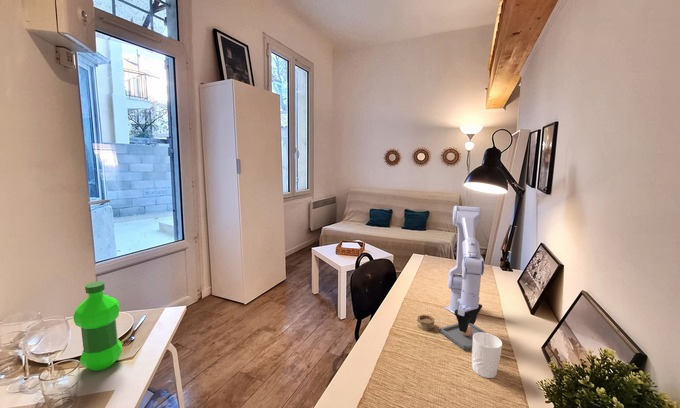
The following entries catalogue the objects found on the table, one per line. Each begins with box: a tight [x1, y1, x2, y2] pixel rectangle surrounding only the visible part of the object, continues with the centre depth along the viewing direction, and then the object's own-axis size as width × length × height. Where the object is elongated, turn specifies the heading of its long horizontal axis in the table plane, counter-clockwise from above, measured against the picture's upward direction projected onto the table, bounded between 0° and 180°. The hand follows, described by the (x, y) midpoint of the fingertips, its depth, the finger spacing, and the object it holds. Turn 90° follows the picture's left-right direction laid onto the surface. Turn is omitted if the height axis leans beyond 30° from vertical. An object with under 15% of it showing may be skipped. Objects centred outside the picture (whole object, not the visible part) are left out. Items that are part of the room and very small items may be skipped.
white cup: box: [471, 332, 503, 379], centre depth 90 cm, size 8×8×10 cm
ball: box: [461, 325, 473, 336], centre depth 107 cm, size 4×4×4 cm
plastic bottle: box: [73, 280, 123, 372], centre depth 87 cm, size 10×10×25 cm
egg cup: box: [416, 314, 435, 332], centre depth 114 cm, size 6×6×3 cm
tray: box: [438, 322, 488, 352], centre depth 108 cm, size 14×12×1 cm
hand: (467, 327), depth 107 cm, fingers open, 7 cm apart
